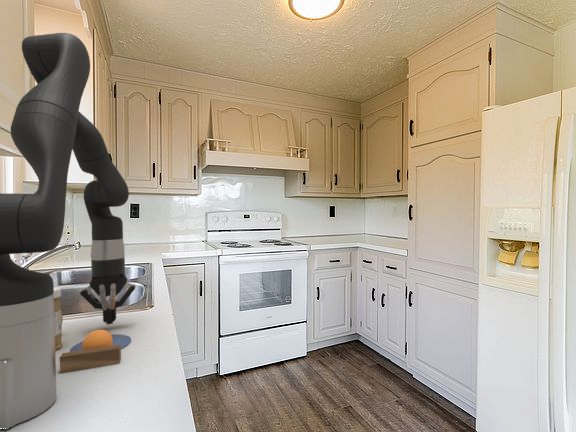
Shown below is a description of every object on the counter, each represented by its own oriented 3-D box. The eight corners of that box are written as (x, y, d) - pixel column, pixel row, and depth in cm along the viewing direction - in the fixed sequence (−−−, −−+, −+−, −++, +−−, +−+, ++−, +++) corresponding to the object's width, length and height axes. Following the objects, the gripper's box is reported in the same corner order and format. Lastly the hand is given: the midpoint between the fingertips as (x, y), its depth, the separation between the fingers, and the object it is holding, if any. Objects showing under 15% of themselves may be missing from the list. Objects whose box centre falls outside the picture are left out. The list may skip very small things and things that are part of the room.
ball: (102, 366, 65) (99, 353, 62) (77, 357, 65) (73, 344, 62) (119, 342, 70) (117, 329, 66) (96, 334, 70) (92, 321, 66)
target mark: (108, 359, 64) (108, 358, 64) (55, 356, 66) (55, 355, 66) (141, 335, 76) (141, 335, 76) (96, 334, 78) (96, 333, 78)
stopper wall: (63, 368, 61) (62, 352, 61) (121, 358, 65) (120, 344, 64) (60, 373, 59) (59, 357, 59) (119, 363, 63) (119, 348, 63)
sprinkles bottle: (44, 345, 72) (42, 287, 71) (66, 343, 72) (65, 286, 72) (32, 354, 67) (30, 292, 67) (55, 352, 68) (54, 290, 68)
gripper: (137, 253, 87) (139, 315, 87) (82, 256, 82) (83, 322, 83) (135, 257, 80) (136, 324, 80) (74, 260, 75) (76, 332, 76)
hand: (109, 323), depth 81 cm, fingers closed
